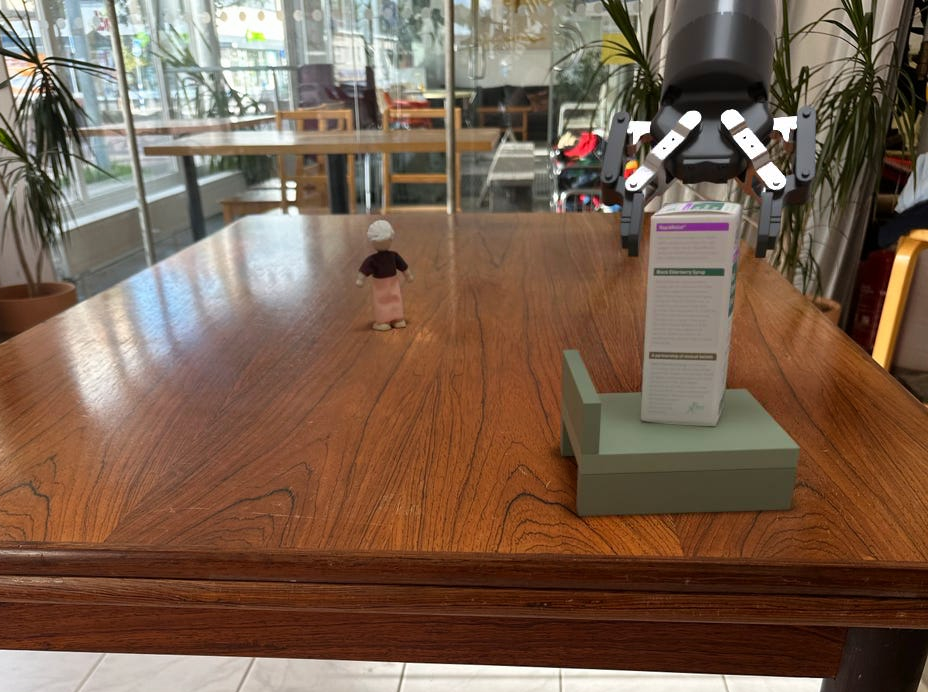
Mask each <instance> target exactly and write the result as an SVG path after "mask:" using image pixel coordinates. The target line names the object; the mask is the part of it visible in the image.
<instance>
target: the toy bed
mask: <svg viewBox="0 0 928 692" xmlns="http://www.w3.org/2000/svg"><path fill="white" fill-rule="evenodd" d="M561 361H562V362H561V398H560V399H561V400H560V431H559V432H560V433H559V435H560V436H559V450H560V453H561V457H572V456H573V457H575V460H576V463H577V466H578V467H577V480H576V481H577V483H576V487H577V488H576V505H575V506H576V509H577V513H578V514H577V515H578V516H579V517H591V516H595V517H596V516H621V515H622V516H623V515H624V516H627V515H653V514H655V515H656V514H686V513H687V514H689V513H691V514H692V513H720V512H722V513H723V512H748V511H749V512H750V511H751V512H752V511H754V512H755V511H778V510H779V511H781V510H782V511H783V510H784V511H786V510H791V508H792V501H793V494H794V488H795V484H796V483H795V482H796V476H797V471H798V463H799V459H800V452H801V447H800V445H798V443H797V442H796V441H795V440H794V439H793V438H792V437H791V436H790V435H789V433H788V432H786V431H785V429H784V428H783V427H782V426H781V425H780V424H779V423H778V422H777V421H776V420H775V418H773V416H772V415H771V414H770V413H769V412H768V411H767V410H766V409H765V407H764V406H762V405H761V403H760V402H759V401H758V400H757V399H756V398H755V397H754V396H753V395H752V394H751V392H750V391H749V390H748V389H747V388H726V389H725V400H724V404H723V408H722V411H721V414H720V417H719V419H718V421H717V424H716V426H695V425H676V424H664V423H655V422H647V421H642V420H641V419H640V410H641V391H639V392H637V391H636V392H610V393H609V392H608V393H607V392H606V393H605V392H604V393H598V391H597V390H596V387H595V385H594V383H593V381H592V378H591V377H590V374H589V372H588V369H587V368H586V365H585V364H584V361H583V359H582V356H581V354H580V352H579V349H563V350H562V357H561Z"/></svg>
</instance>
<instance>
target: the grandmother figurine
mask: <svg viewBox="0 0 928 692" xmlns="http://www.w3.org/2000/svg"><path fill="white" fill-rule="evenodd" d="M366 236H367V240H368V242H369V243H370V244H371V246H372V248H373V250H375V251H377V252H374V253H373V254H370V255H368V256H367V257H365V259H364V260H363V261H362V263H361V265H360V266H359V268H358V275H357V280H356V281H355V287H357V288H358V289H361V288H363V287H364V286H365V282H366V280H367V278H368V277H370V276H372V277H371V285H372V286H371V287H372V297H373V310H374V311H373V312H374V318H375V322H374V323H373V325H372V330H373V329H374V330H375V331H376V330H377V331H390V330H391V329H392V327H393V328H395V329H397V328H398V329H400V328H406V327H407V324H406V321H405V319H404V318H405V316H404V305H403V304H404V303H403V297H402V293H401V287H400V282H399V278H398V271H399V272H401V274H402V276H403V277H404V278H405V282H406V283H408V284H411V283H413V282H414V279H415V278H414V276H413V275H412V273H411V270H410V268H409V264H408V263H407V262H406V261H405V260H404V258H403V257H402V256H401V255H400V254H399V253H398V252H397V251H395V250H389V249H390V248H391V247H392V242H393V241H394V240H395V231H394V229H393V227H392V225H391V224H390V222H389V221H387V220H384V219H378V220H375V221H374V222H372V224H370V225H369V227H368V230H367V232H366Z"/></svg>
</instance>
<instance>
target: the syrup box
mask: <svg viewBox="0 0 928 692" xmlns="http://www.w3.org/2000/svg"><path fill="white" fill-rule="evenodd" d="M743 215H744V204H743V203H742V202H737V201H729V200H712V199H711V200H709V199H708V200H706V199H704V200H687V201H678V202H664V203H663V205H662V207H661V208H660V209H658V210H657V211H656V212H655V213H654V214H653V215H651V217H650V229H649V231H650V233H649V247H648V248H649V249H648V250H649V251H648V265H647V266H648V267H647V280H646V281H647V282H646V283H647V285H646V300H645V317H644V334H643V335H644V337H643V355H642V371H641V375H642V376H641V389H640V390H641V391H640V392H641V410H640V419H641V420H642V421H647V422H655V423H664V424H676V425H695V426H716V424H717V421H718V419H719V417H720V414H721V411H722V408H723V404H724V400H725V389H727V379H728V378H727V377H728V370H729V369H728V368H729V356H730V348H731V339H732V329H733V328H732V327H733V317H734V310H735V309H734V308H735V298H736V288H737V287H736V286H737V277H738V266H739V256H740V246H741V233H742V226H743V225H742V224H743V217H744V216H743Z"/></svg>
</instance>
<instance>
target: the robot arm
mask: <svg viewBox="0 0 928 692" xmlns="http://www.w3.org/2000/svg"><path fill="white" fill-rule="evenodd" d="M777 11H778V10H777V0H676V3H675V8H674V10H673V13H672V17H671V21H670V26H669V31H668V39H667V47H666V55H665V62H664V68H663V69H664V70H663V78H662V85H661V93H660V100H659V107H658V111H657V113H656V114H655V116H654V117H653V118H652V119H651V121H633V120H632V121H631V118H630V114H629V112H627V111H617V112H616V113H615V114H614V115H613V116H612V120H611V125H610V129H609V133H608V138H607V142H606V148H605V152H604V157H603V162H602V166H601V171H600V175H599V179H600V191H601V202H602V204H603V205H604V206H605V207H614V206H619V207H621V208H622V209H621V215H620V216H621V217H620V223H619V224H620V225H619V243H620V245H621V249H622V250H627V255H628V258H639V257H640V250H641V244H642V236H643V230H644V229H643V228H644V221H645V208H646V207H647V206H648V205H649V204H650V203H651V202H652V201H653V200H654V199H655V198H656V197H662V196H663V195H664V194H665V193H666V192H667V191H668V190H669V189H670V188H671V187H672V186H674V184H675V183H677V181H681V182H682V184H681V185H696V184H700V183H710V184H715V185H727V184H729V183H728V182H729V181H730V180H734V181H735V182H736V183H737V185H738V186H739V187H740V189H741V190H742V191H743V192H744V193H745V194H746V195H747V196H748V197H750V196H752V198H754V199H755V201H756V202H757V203H758V204H759V206H760V207H759V214H758V223H757V224H758V225H757V233H756V241H755V252H754V258H755V259H766V257H767V251H774V250H775V249H776V247H777V246H778V244H779V239H780V233H781V228H782V227H781V226H782V218H783V217H782V216H783V209H785V207H788V206H789V205H792V204H793V205H795V206H800V207H801V206H805V205H807V204H808V203H809V201H810V198H811V193H812V187H813V182H814V180H815V177H816V149H817V148H816V144H817V143H816V138H817V137H816V135H817V133H816V132H817V111H816V108H815V107H813V106H810V105H804V106H802V107H799V109H798V110H797V113H796V116H787V117H774V115H773V114H772V112H771V110H770V107H769V106H770V96H771V86H772V76H773V66H774V58H775V54H776V36H777V35H776V34H777V27H778V26H777V25H778V14H777ZM772 140H776V141H778V142H779V143H780V146H781V149H782V150H783V151H784V152H785V155H787V156H791V174H789V175H783V173H782V172H781V171H780V170H779V169H778V167H777V166H776V165H775V163H774V162H773V161H772V159H771V155H770V152H769V150H768V149H767V147H768V146H769V145H770V143H771V142H772ZM645 143H649V145H650V147H651V150H650V151H649V152H648V153H647V155H646V157H645V159H644V161H643V163H642V164H641V165H640V166H639V167H637V169H636V170H635V171H634V172H633V173H632V174H631V175H630V176H628V177H625V172H626V167H627V163H628V159H633V158H634V157H635V154H637V152H638V151H639V149H640V148H641V146H642V145H644V144H645Z"/></svg>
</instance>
